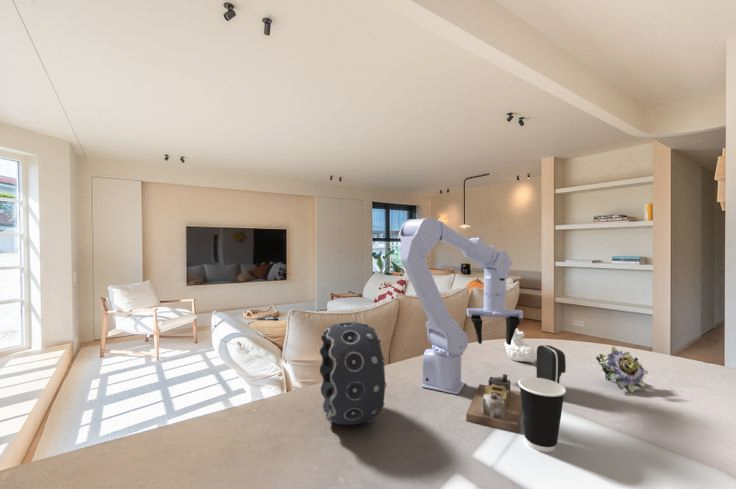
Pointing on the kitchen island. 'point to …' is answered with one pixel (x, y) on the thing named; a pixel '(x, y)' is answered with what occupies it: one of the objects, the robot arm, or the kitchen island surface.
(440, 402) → the kitchen island surface
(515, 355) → the bust
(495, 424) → the gear board
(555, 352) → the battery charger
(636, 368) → the passion flower
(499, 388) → the brass gear
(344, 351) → the dark grey patterned wheel
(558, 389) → the dixie cup
